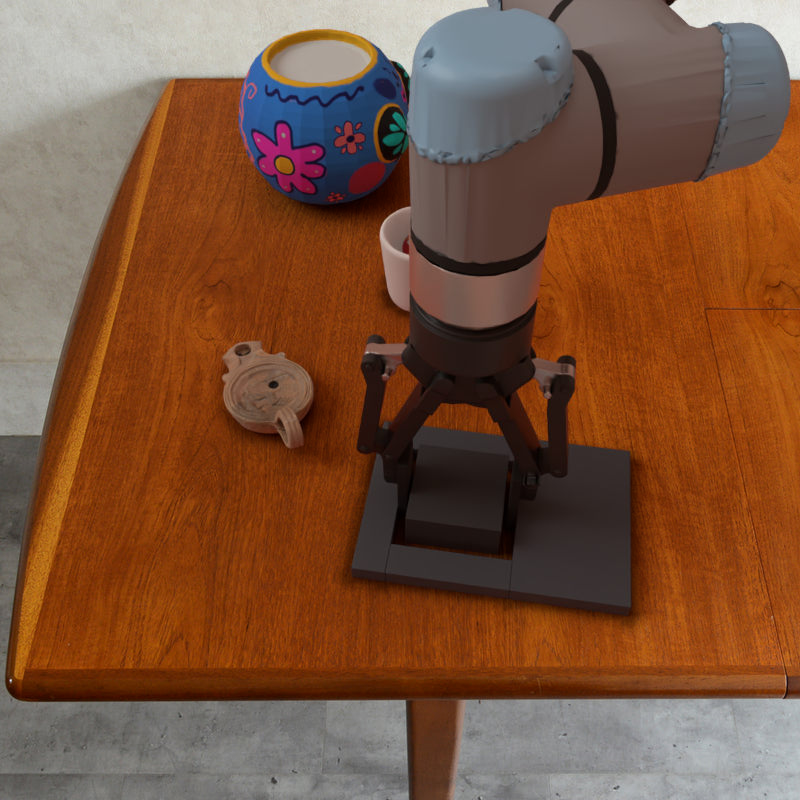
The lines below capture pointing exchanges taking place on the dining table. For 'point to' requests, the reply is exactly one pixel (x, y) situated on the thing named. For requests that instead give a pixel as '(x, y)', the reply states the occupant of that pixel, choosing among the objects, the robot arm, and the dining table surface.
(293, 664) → the dining table surface
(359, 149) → the ceramic pot
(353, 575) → the base pad
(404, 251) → the cup
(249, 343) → the oil lamp
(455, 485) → the black block
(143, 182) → the dining table surface
